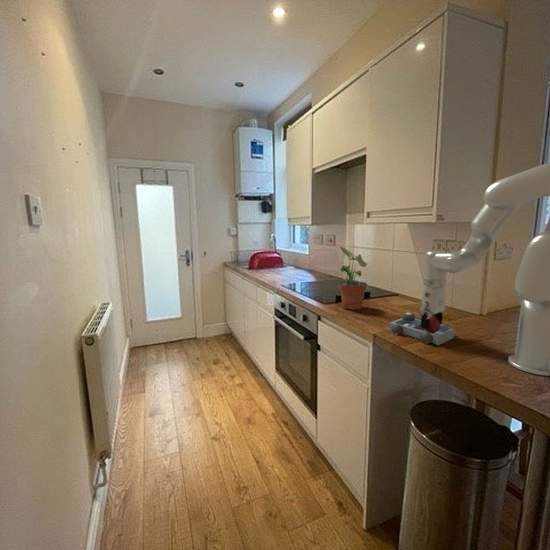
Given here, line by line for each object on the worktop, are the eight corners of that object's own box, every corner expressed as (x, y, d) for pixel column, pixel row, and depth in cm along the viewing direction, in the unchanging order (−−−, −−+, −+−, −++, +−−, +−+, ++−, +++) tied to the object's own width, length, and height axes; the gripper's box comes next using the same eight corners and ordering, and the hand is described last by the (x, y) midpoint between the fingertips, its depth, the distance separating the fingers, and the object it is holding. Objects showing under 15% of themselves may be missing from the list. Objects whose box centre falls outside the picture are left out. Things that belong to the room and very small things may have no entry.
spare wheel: (417, 319, 126) (417, 313, 126) (411, 321, 123) (411, 316, 123) (406, 316, 130) (406, 311, 130) (400, 318, 127) (400, 313, 127)
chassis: (456, 336, 120) (457, 326, 120) (435, 347, 110) (436, 336, 110) (408, 323, 136) (409, 315, 135) (386, 332, 126) (387, 322, 126)
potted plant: (337, 311, 156) (338, 243, 151) (338, 303, 171) (339, 241, 165) (368, 313, 153) (371, 243, 147) (367, 305, 167) (369, 241, 161)
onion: (430, 337, 116) (431, 318, 115) (419, 332, 122) (420, 313, 120) (443, 335, 118) (444, 316, 116) (432, 330, 123) (433, 311, 122)
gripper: (433, 287, 108) (429, 333, 111) (455, 281, 118) (451, 323, 121) (413, 284, 114) (410, 327, 117) (435, 278, 124) (432, 318, 127)
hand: (431, 325), depth 119 cm, fingers open, 9 cm apart
